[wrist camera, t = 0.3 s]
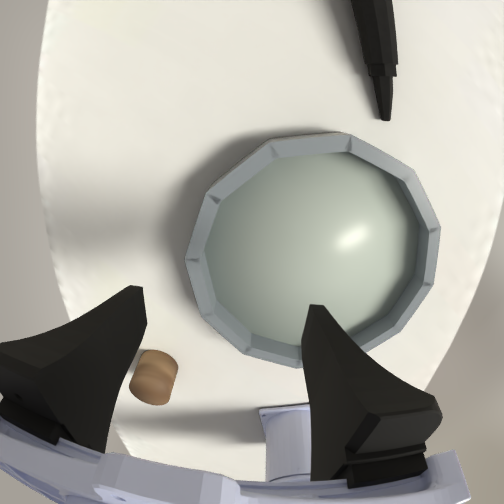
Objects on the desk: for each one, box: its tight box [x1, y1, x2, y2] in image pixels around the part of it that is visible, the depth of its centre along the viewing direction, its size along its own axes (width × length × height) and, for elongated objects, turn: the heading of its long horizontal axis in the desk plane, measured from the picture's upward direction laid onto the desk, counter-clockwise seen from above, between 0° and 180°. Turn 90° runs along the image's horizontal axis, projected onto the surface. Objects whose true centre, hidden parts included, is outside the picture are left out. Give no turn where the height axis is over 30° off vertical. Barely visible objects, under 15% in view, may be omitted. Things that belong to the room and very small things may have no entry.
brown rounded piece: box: [129, 350, 178, 405], centre depth 26 cm, size 4×4×4 cm
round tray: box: [184, 132, 441, 369], centre depth 21 cm, size 18×18×2 cm
